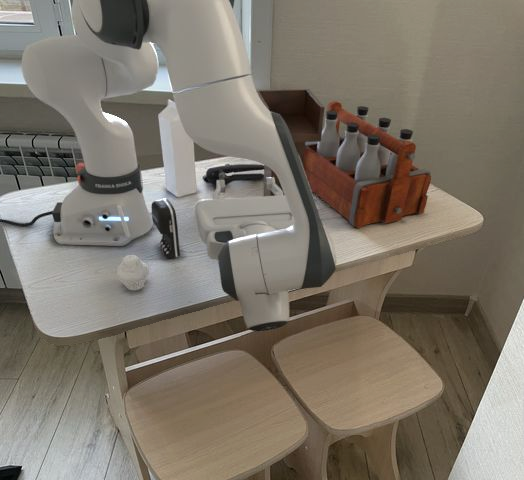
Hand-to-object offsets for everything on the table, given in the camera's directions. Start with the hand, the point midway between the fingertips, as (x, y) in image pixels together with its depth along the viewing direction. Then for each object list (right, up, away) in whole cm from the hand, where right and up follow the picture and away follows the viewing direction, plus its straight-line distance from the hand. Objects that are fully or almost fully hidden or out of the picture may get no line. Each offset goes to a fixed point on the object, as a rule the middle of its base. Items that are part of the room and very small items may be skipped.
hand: (245, 180), depth 93 cm
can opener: (-4, +14, +43) cm, 45 cm away
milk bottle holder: (+28, +9, +39) cm, 49 cm away
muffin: (-22, -19, +7) cm, 30 cm away
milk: (-18, +10, +39) cm, 44 cm away
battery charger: (-18, -10, +16) cm, 26 cm away
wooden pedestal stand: (+8, -3, +25) cm, 26 cm away
